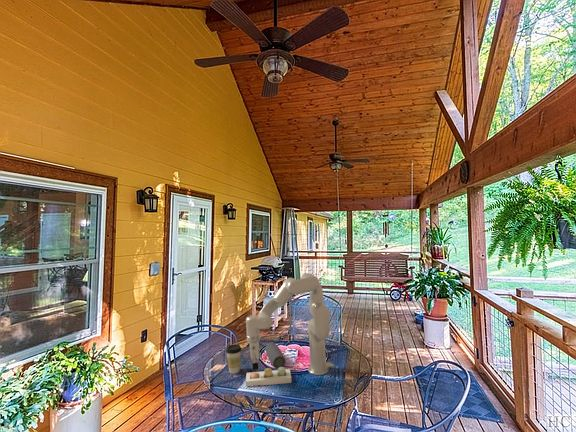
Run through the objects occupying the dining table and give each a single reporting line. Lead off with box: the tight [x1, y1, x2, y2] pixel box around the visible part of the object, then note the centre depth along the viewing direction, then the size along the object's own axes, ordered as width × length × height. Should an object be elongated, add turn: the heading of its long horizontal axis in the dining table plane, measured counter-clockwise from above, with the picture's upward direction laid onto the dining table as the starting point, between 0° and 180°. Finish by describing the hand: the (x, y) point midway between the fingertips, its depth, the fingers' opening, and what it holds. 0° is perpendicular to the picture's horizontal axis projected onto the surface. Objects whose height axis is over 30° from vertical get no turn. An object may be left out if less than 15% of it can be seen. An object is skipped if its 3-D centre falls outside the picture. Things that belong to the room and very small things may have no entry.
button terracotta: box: [251, 373, 259, 379], centre depth 176 cm, size 4×4×3 cm
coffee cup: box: [225, 344, 243, 375], centre depth 190 cm, size 10×10×15 cm
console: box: [245, 368, 292, 387], centre depth 177 cm, size 26×10×3 cm, turn 95°
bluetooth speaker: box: [265, 342, 287, 370], centre depth 198 cm, size 23×9×10 cm, turn 16°
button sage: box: [277, 366, 286, 376], centre depth 178 cm, size 4×4×3 cm
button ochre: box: [263, 367, 273, 377], centre depth 177 cm, size 4×4×3 cm
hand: (255, 369), depth 177 cm, fingers closed
